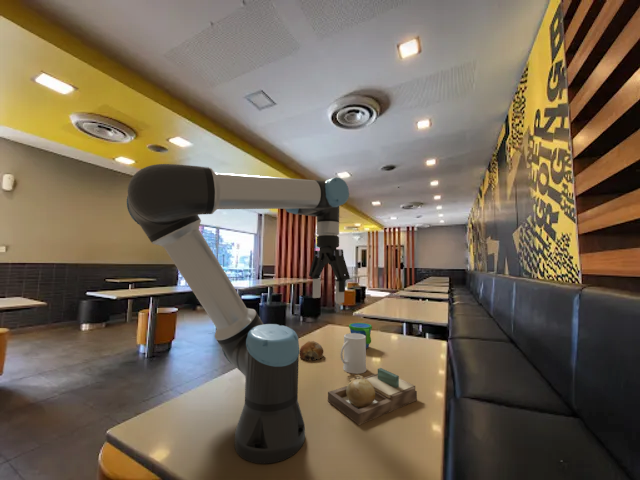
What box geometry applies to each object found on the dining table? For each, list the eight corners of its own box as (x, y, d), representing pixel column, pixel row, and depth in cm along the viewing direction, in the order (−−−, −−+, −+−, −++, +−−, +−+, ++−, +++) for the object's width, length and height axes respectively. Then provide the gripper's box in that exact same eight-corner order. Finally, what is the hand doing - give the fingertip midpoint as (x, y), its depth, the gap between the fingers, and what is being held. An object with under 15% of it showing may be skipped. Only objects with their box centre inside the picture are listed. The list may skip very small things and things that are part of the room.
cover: (389, 398, 71) (389, 383, 72) (361, 382, 80) (361, 369, 81) (415, 388, 77) (415, 374, 78) (386, 375, 86) (386, 362, 87)
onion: (379, 401, 74) (379, 374, 74) (369, 415, 67) (369, 385, 68) (352, 393, 78) (352, 368, 78) (341, 406, 71) (341, 378, 72)
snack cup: (344, 342, 130) (344, 321, 131) (364, 341, 133) (364, 321, 134) (355, 353, 115) (355, 329, 116) (378, 351, 117) (378, 328, 118)
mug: (347, 378, 90) (348, 341, 91) (331, 370, 97) (332, 336, 98) (371, 370, 97) (371, 336, 98) (354, 363, 104) (354, 331, 105)
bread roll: (325, 366, 110) (329, 346, 114) (313, 361, 103) (318, 340, 106) (305, 361, 115) (310, 342, 119) (293, 356, 108) (298, 336, 112)
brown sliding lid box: (358, 424, 64) (358, 409, 64) (327, 401, 75) (328, 388, 75) (416, 400, 76) (416, 387, 76) (382, 383, 87) (382, 371, 87)
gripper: (361, 233, 80) (361, 304, 78) (317, 239, 101) (317, 295, 99) (341, 231, 76) (341, 306, 74) (300, 237, 97) (299, 296, 95)
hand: (327, 300), depth 87 cm, fingers open, 13 cm apart
